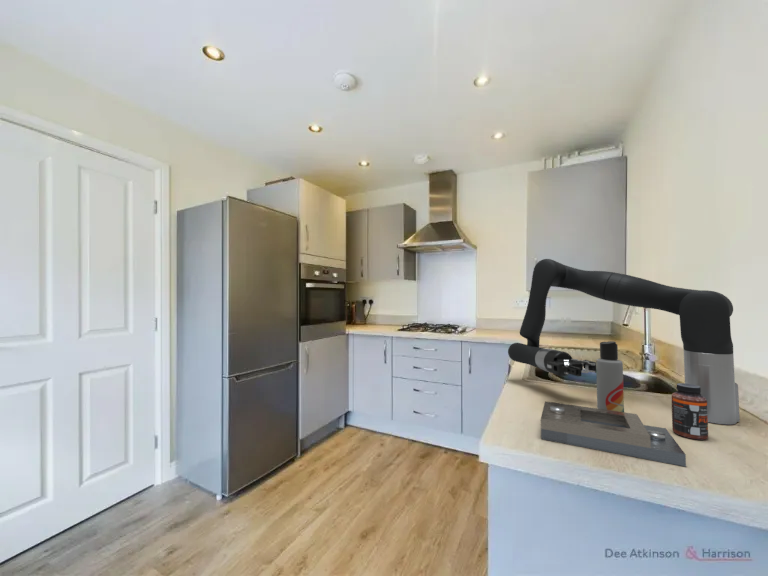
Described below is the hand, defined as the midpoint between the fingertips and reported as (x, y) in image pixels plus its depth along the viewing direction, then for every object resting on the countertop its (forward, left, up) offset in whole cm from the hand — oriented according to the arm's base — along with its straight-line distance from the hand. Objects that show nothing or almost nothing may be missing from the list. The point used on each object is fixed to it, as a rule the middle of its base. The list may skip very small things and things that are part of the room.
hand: (594, 371), depth 88 cm
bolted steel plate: (+11, +16, -11) cm, 22 cm away
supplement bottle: (-10, +16, -11) cm, 22 cm away
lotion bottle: (0, +5, -11) cm, 12 cm away
